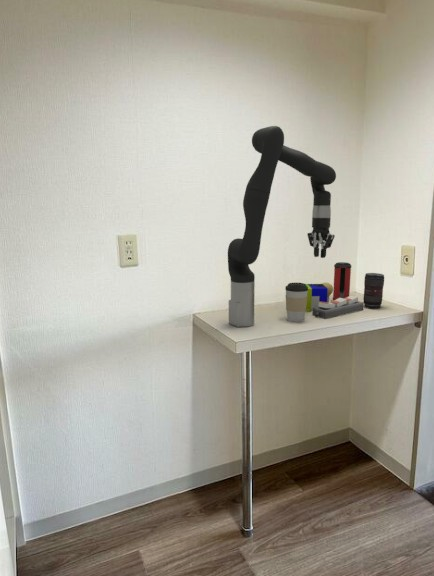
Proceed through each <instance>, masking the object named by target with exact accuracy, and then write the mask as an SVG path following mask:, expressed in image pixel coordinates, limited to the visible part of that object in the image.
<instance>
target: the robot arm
mask: <svg viewBox="0 0 434 576" xmlns="http://www.w3.org/2000/svg"><path fill="white" fill-rule="evenodd" d="M251 145H252V147H253V149H254V150H255V152H257V153H260V154H261V155H260V159H259V163H258V165H257V167H256V168H255V170H254V172H253V173H252V175H251V176H250V178H249V180H248V182H247V184H246V187H245V192H244V195H243V199H242V200H243V201H242V207H243V209H242V210H243V212H244V213H243V214H244V218H245V219H244V220H245V227H244V232H243V236H242V237H243V238H239V237H238V238H235V239H233V240H231V241H230V243H229V244H228V248H227V267H228V268H227V269H228V273H229V278H230V299H229V300H228V324H229V325H232V326H234V327H237V328H240V327H242V328H243V327H251V326H253V325H255V288H256V287H255V273H254V272H253V271H252V270H251V269H250V266H249V265H252V264H254V263H255V262H256V261H257V260H258V257H259V253H260V248H261V241H262V232H263V226H264V222H265V216H266V211H267V208H268V204H269V201H270V200H269V199H270V195H271V189H272V186H273V182H274V178H275V175H276V174H275V172H276V169H277V166H278V163H279V162H281V163H283V164H285V165H287V166H289V167H291V168H292V169H294V170H296V171H297V172H299V173H300V174H302V175H304V176H306V177H309V179H310V186H311V191H312V194H313V205H312V214H311V215H312V217H311V228H312V230H311V232H307V238H308V243H309V246H310V247H313V256H314V258H318V257H319V256H320V259H321V258H322V259H324V258H326V256H327V249H330V248H332V247H331V246H332V244H333V241H334V239H335V237H336V236H335V234H332V233H330V228H331V220H332V219H331V217H332V209H331V202H332V201H331V200H332V194H331V193H332V192H330V191H329V190H326V188H325V186H326V185H331V184H333V183H334V182H336V178H337V174H336V171H335V169H334V168H333V167H332V166H330V165H328V164H325V163H324V162H320V161H317V160H316V159H314V158H313V157H311V156H309V155H308V154H306V153H305V152H303V151H300V150H297V149H294V148H292V147H289V146H286V145H285V134H284V131H283V129H282V128H281V127H280V126H277V125H271V126H266V127H263V128H260V129H257V130H256V131H255V132H254V133H253V135H252V137H251Z"/></svg>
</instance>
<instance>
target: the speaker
mask: <svg viewBox="0 0 434 576" xmlns="http://www.w3.org/2000/svg"><path fill="white" fill-rule="evenodd" d="M333 267H334V269H333V271H334V273H333V274H334V275H333V292H332V301H333V300H336V299H338V298H343V299H344V298H347V297H349V296H350V292H351V291H350V289H351V288H350V287H351V274H352V272H351V271H352V264H351V263H349V262H344V261H343V262H335V264H334V266H333Z"/></svg>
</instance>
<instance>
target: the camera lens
mask: <svg viewBox="0 0 434 576" xmlns="http://www.w3.org/2000/svg"><path fill="white" fill-rule="evenodd" d="M363 283H364V288H363V303H364V306H363V308H366V309H370V310H371V309H372V310H375V309H376V310H378V309H380V308H381V305H382V301H383V296H384V295H383V294H384V293H383V292H384V284H385V274H383V273H376V272H367V273H365V275H364V282H363Z"/></svg>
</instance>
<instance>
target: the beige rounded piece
mask: <svg viewBox="0 0 434 576" xmlns="http://www.w3.org/2000/svg"><path fill="white" fill-rule="evenodd" d="M321 284H323V285H324V286H325V287H326V288H327V289H328V291H327V303H330V297H331V295H333V289H334V285H333V284H331V283H329V282H322V283H321Z"/></svg>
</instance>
